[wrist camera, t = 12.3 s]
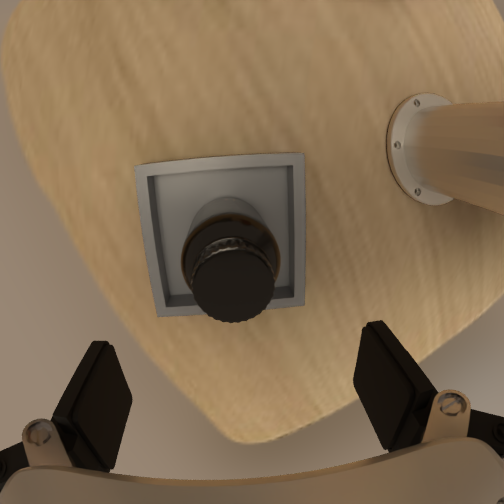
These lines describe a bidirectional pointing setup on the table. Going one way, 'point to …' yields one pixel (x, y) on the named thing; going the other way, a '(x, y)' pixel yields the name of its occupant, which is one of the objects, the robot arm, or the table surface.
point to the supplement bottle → (230, 260)
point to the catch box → (210, 188)
